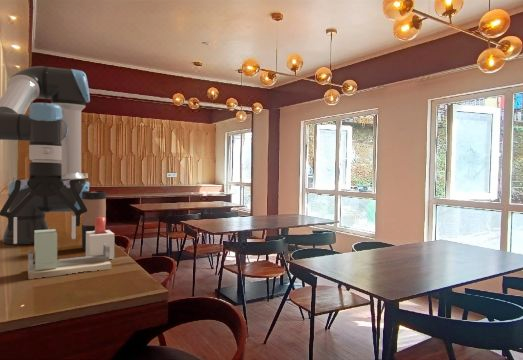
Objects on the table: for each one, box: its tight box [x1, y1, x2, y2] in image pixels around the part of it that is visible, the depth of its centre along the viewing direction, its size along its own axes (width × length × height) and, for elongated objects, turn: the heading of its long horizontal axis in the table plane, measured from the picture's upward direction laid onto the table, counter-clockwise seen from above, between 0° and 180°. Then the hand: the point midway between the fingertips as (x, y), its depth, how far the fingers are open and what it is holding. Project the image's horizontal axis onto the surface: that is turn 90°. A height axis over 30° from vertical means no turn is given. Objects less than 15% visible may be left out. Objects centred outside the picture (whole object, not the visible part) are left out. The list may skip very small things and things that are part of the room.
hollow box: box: [85, 229, 115, 260], centre depth 117 cm, size 8×7×8 cm
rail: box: [27, 244, 112, 280], centre depth 104 cm, size 9×20×6 cm, turn 124°
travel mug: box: [81, 190, 107, 252], centre depth 129 cm, size 8×8×20 cm
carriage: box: [33, 228, 58, 270], centre depth 100 cm, size 6×5×10 cm
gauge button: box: [95, 217, 105, 234], centre depth 117 cm, size 3×3×5 cm
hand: (45, 240), depth 100 cm, fingers open, 13 cm apart
